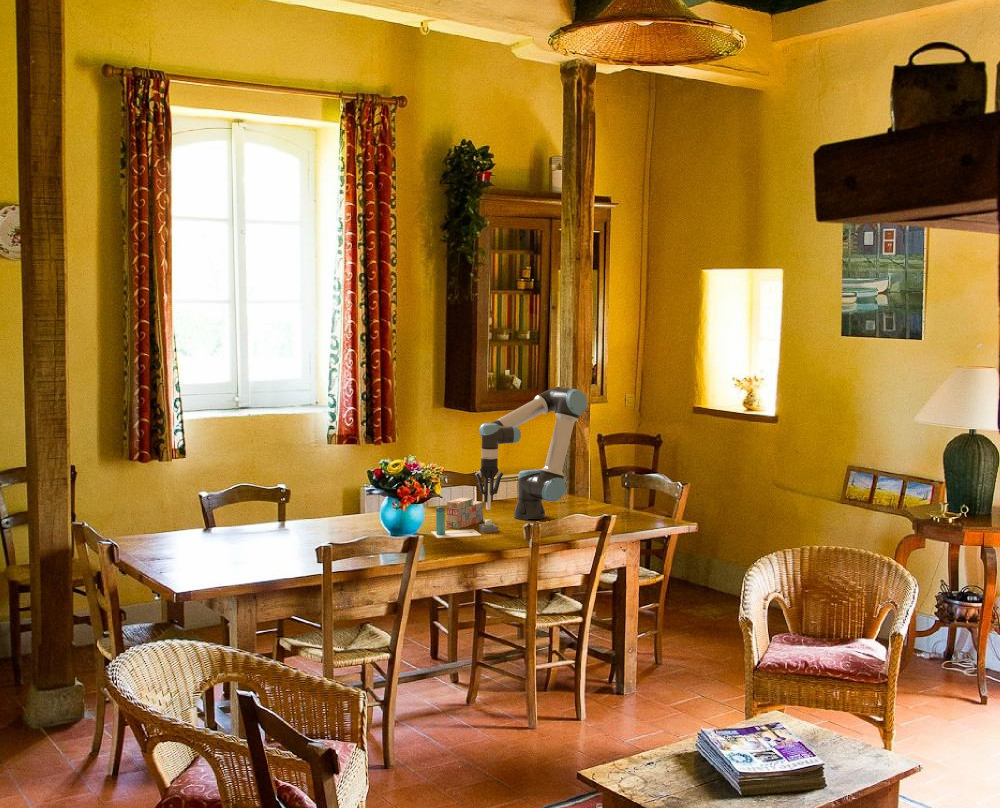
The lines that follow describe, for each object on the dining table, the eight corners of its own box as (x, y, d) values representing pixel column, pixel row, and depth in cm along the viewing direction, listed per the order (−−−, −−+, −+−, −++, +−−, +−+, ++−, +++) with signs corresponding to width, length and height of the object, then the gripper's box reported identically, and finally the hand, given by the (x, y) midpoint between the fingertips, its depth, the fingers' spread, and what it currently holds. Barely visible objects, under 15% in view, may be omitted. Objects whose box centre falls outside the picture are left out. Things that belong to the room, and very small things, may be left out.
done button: (490, 526, 506) (491, 519, 505) (493, 528, 502) (493, 520, 502) (483, 527, 505) (483, 519, 504) (485, 528, 501) (486, 521, 501)
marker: (444, 532, 496) (443, 506, 495) (446, 534, 492) (445, 508, 491) (435, 533, 495) (434, 507, 494) (437, 535, 491) (436, 508, 490)
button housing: (493, 528, 508) (493, 523, 508) (498, 532, 501) (498, 526, 501) (478, 529, 506) (478, 524, 506) (483, 532, 499) (483, 527, 499)
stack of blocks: (472, 519, 528) (472, 494, 527) (483, 521, 525) (483, 495, 524) (446, 527, 510) (446, 501, 509) (457, 529, 507) (458, 502, 506)
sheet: (473, 530, 505) (473, 529, 505) (481, 535, 493) (481, 534, 493) (431, 532, 499) (431, 531, 499) (437, 538, 487) (437, 537, 487)
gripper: (500, 456, 506) (499, 507, 508) (473, 456, 502) (472, 508, 504) (505, 458, 498) (504, 510, 501) (477, 459, 495) (476, 511, 497)
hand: (488, 509), depth 502 cm, fingers closed
